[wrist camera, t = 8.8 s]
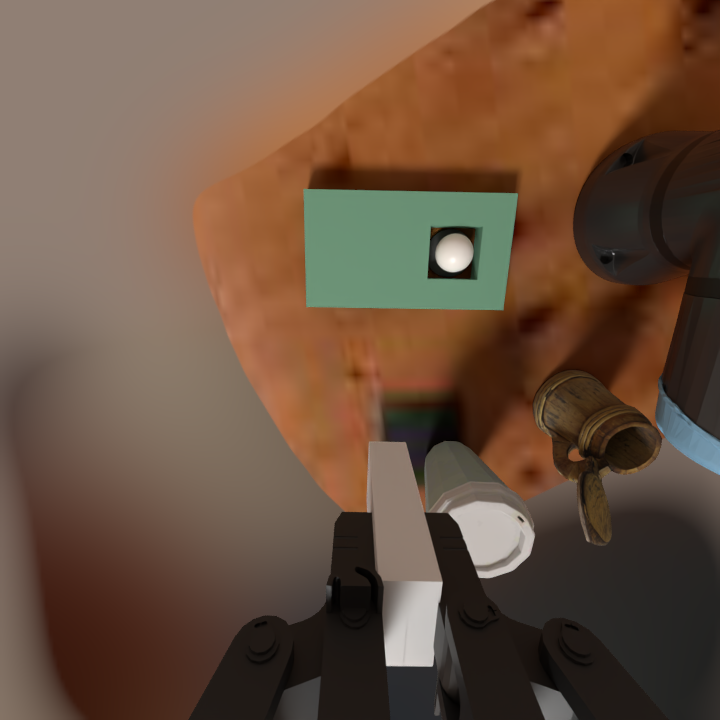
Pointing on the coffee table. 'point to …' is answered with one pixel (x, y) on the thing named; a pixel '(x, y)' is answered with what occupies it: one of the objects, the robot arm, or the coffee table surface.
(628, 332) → the coffee table surface
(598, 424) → the wooden mug
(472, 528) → the disposable coffee cup
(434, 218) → the putting mat
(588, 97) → the coffee table surface
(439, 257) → the ball
